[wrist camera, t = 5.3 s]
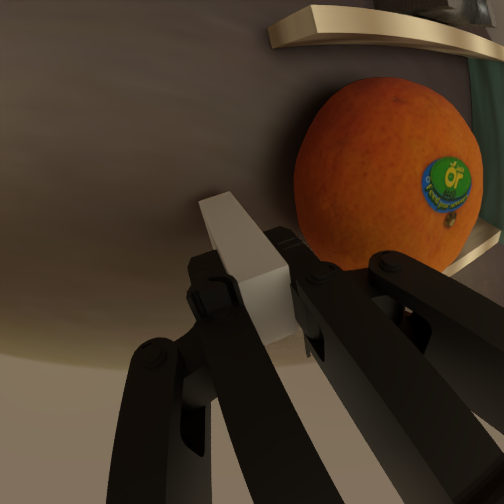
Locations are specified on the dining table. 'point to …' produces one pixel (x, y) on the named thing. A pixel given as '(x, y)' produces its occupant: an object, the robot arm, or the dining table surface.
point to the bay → (436, 39)
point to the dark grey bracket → (444, 11)
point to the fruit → (388, 175)
